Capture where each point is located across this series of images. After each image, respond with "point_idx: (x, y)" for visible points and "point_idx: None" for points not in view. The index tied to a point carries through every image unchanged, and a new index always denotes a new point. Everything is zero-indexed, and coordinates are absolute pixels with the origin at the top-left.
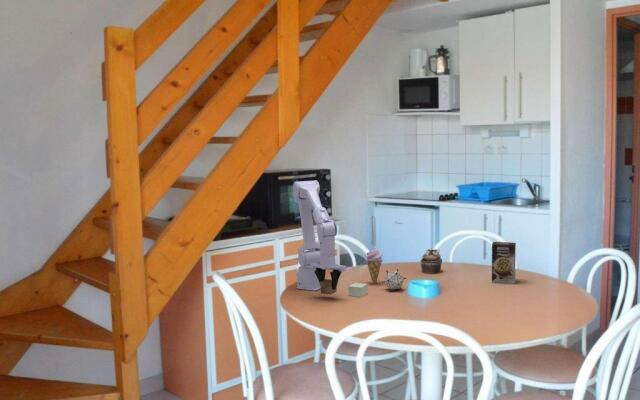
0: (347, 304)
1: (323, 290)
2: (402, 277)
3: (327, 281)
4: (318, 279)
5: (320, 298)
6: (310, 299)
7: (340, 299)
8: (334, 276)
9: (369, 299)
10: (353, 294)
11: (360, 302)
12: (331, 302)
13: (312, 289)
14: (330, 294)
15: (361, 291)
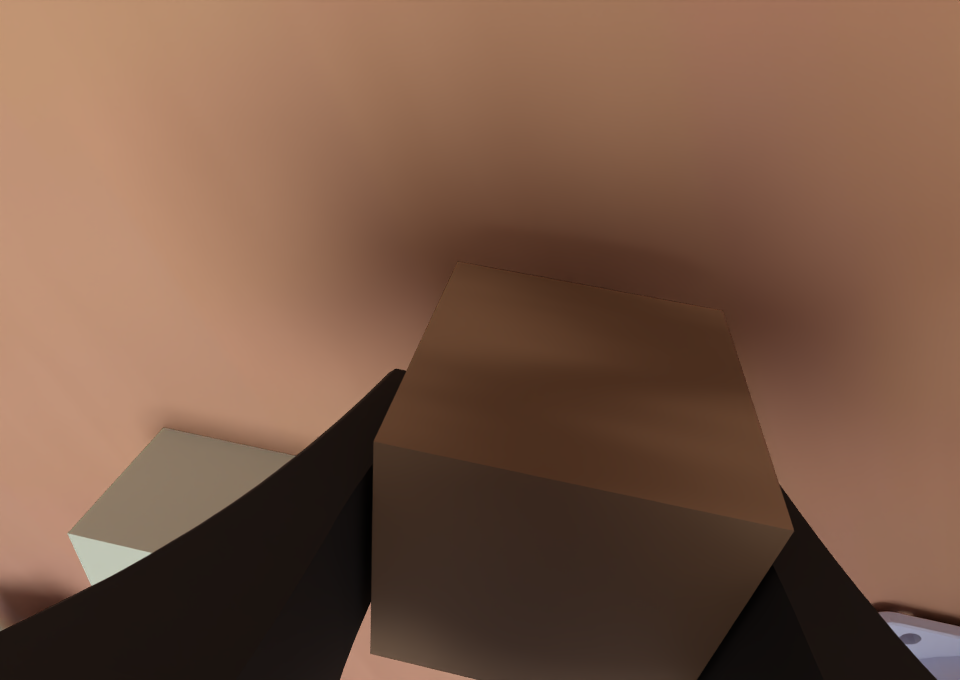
0: (83, 34)
1: (648, 337)
2: None
3: (545, 567)
4: (898, 648)
5: (722, 295)
6: (940, 192)
7: (359, 300)
8: (38, 640)
9: (22, 363)
10: (261, 470)
11: (5, 210)
12: (420, 85)
13: (941, 632)
14: (468, 263)
15: (112, 488)
